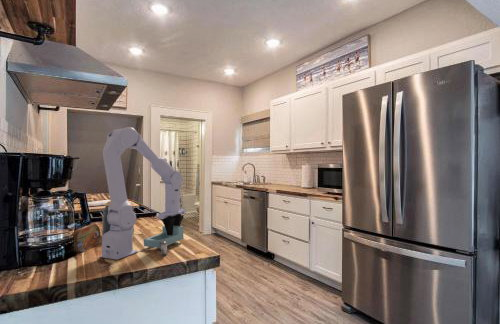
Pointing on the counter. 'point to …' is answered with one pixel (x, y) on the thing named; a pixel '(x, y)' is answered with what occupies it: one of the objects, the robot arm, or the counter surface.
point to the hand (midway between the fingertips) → (172, 234)
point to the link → (165, 237)
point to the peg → (163, 248)
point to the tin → (86, 237)
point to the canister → (105, 223)
